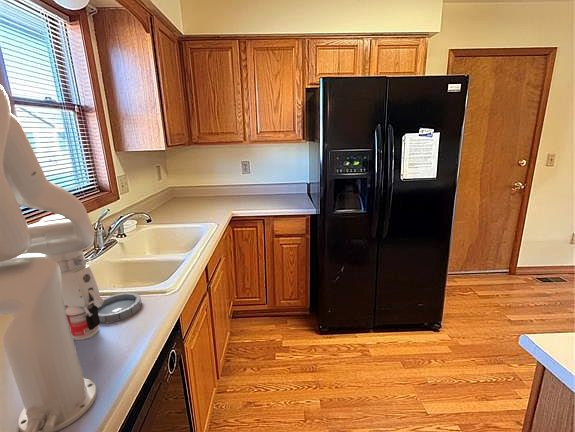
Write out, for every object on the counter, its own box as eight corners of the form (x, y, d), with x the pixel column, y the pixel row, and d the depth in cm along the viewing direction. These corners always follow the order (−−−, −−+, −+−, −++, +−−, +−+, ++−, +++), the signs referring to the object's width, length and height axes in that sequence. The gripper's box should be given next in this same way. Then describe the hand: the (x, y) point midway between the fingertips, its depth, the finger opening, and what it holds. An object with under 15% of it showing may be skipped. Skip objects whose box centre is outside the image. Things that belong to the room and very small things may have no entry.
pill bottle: (80, 328, 89) (70, 292, 86) (103, 325, 89) (94, 289, 87) (67, 342, 83) (57, 304, 80) (92, 339, 84) (82, 301, 81)
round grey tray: (138, 316, 93) (136, 309, 92) (87, 326, 89) (85, 320, 89) (143, 295, 105) (142, 289, 104) (99, 304, 101) (97, 297, 101)
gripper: (107, 258, 82) (121, 320, 87) (53, 256, 86) (70, 315, 91) (83, 271, 75) (100, 337, 80) (26, 268, 79) (45, 331, 84)
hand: (83, 325), depth 86 cm, fingers closed on pill bottle, 6 cm apart
